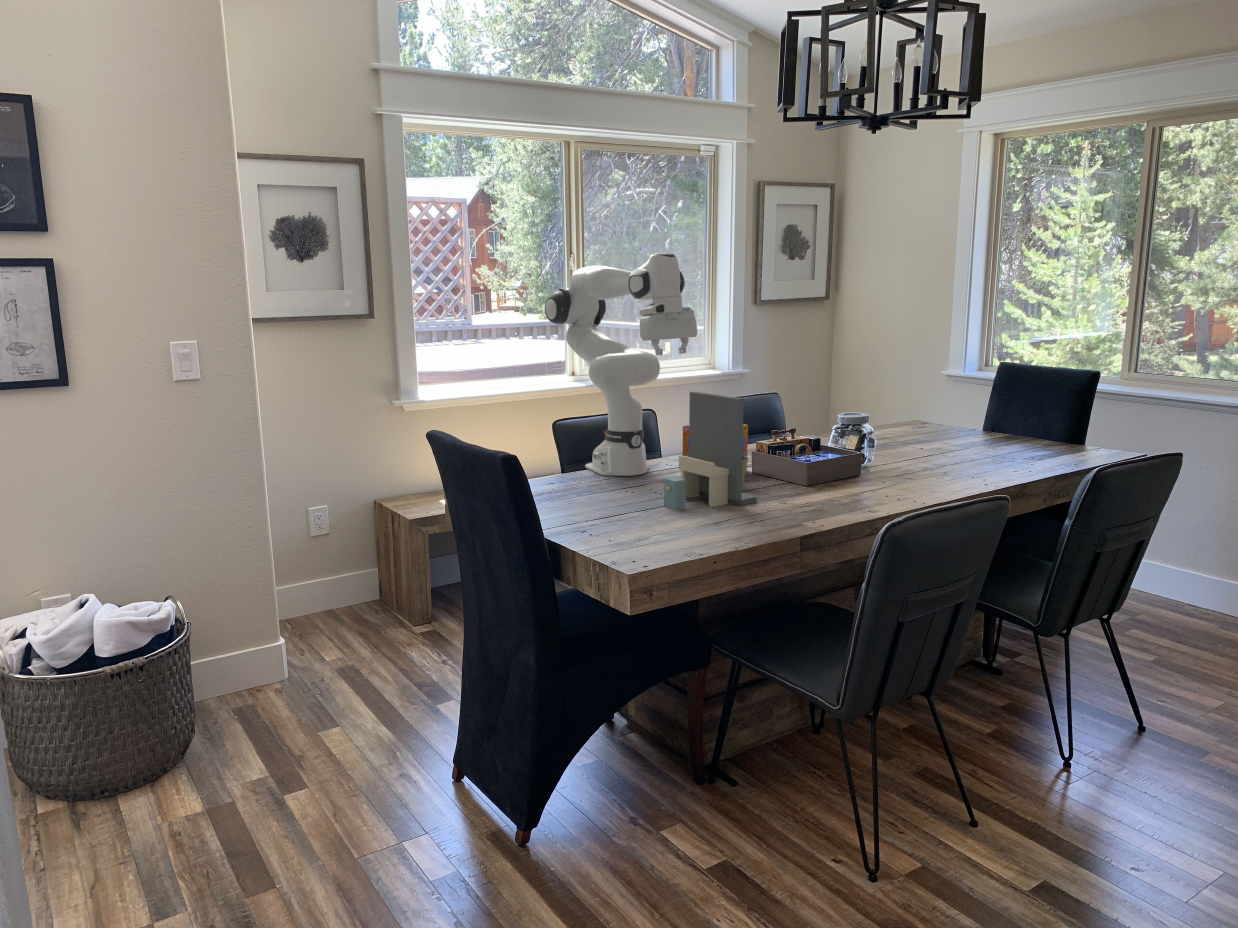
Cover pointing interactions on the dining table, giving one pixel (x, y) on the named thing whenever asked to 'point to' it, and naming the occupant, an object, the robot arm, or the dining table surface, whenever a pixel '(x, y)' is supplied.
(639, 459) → the robot arm
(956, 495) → the dining table surface
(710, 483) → the wall board
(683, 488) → the small cabinet
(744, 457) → the flower pot
